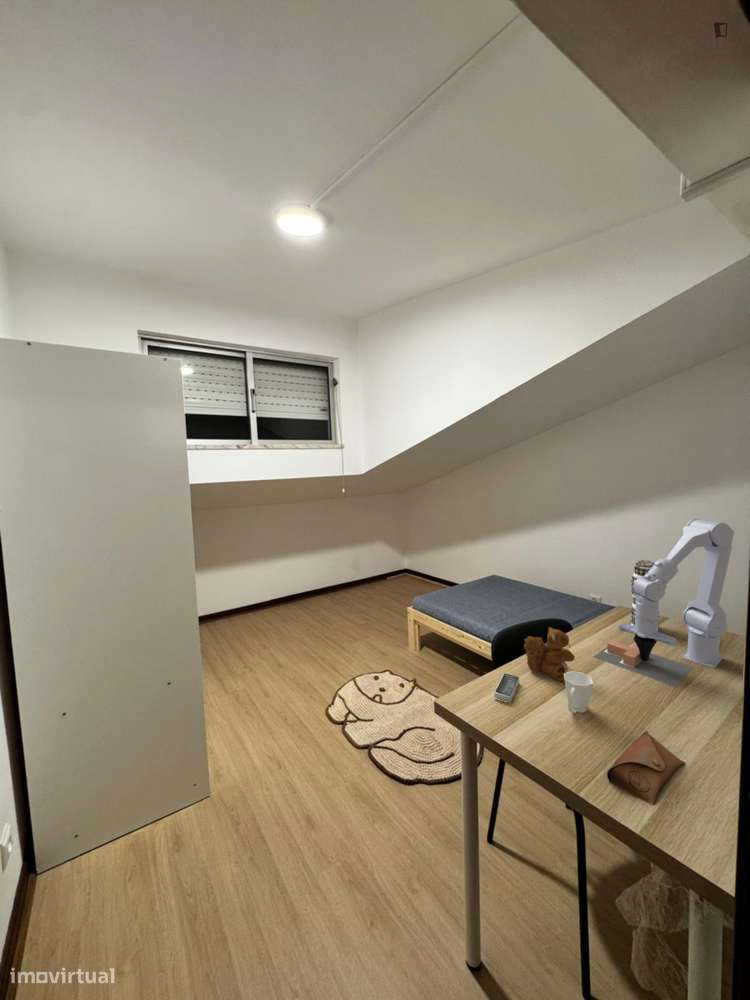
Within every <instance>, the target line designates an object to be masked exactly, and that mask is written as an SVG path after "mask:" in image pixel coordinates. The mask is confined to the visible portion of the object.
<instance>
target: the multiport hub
mask: <svg viewBox="0 0 750 1000" xmlns="http://www.w3.org/2000/svg"><path fill="white" fill-rule="evenodd" d="M519 685H520V676H517V675H513V674H510V673H503V674H502V676H501V678H500V680H499V682H498V684H497V686H496V688H495V690H494V692H493V697H495V698H497V699H500V700H503V701H507V702H511V701H513V699H514V697H515V695H514V694H516V693H517V690H518V688H517V687H519ZM516 689H517V690H516ZM513 696H514V697H513ZM512 698H513V699H512ZM503 701H502V702H503ZM511 703H512V702H511Z"/></svg>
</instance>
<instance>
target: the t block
mask: <svg viewBox="0 0 750 1000" xmlns="http://www.w3.org/2000/svg"><path fill="white" fill-rule="evenodd" d="M606 644H607V646H606V647H607V652H608V653H611V654H614V655H617V656H619V657H622V658H623V663H624V664H627V665H630V666H633V667H635V666H636V665H637V664H638V663H639V662H640V661H642V660H641V655H640V652H639V649H638V646H637V645H636V643H635V644H634V645H632V646H630V647H629V645H627V644H624V645H623V643H620V642H617V641H613V640H610V641H608V643H606ZM626 645H627V646H626Z"/></svg>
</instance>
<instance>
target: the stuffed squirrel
mask: <svg viewBox="0 0 750 1000" xmlns="http://www.w3.org/2000/svg"><path fill="white" fill-rule="evenodd" d="M547 630H548V632H547V635H546V636H547V637H546V638H547V641H546V643H545V642H544V641H543V638H542V637H538V636H536V637H533V636H527V638H524V642H525V643H524V644H523V648H524V650H525V652H526V654H525V656H526V657H527V658H526V660H527V662H526V664H527V666H528V668H529V669H530V670H531V671H533V672H534V673H535V672H536V674H539V673H538V672H540V673H542V674H545V675H546V676H547V677H550V678H552V679H553V680H556V681H558V682H563V683H565V679H564V673H567V663H566V662H573V661H574V660H575V655H574V654H573V652H571V650H569V649H571V646H570V637H569V635H568V634H566V633H565V632H564V631H562V630H560V629H555V628H553V627H550V626H549V627H548V629H547ZM567 646H568V648H569V649H568V648H565V647H567Z"/></svg>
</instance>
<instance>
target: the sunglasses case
mask: <svg viewBox="0 0 750 1000" xmlns="http://www.w3.org/2000/svg"><path fill="white" fill-rule="evenodd" d="M685 764H686V762H685V761H684V760H682V759H679V758H678V756H676V755H675V754H674V753H673V752H671V751H670V750H669V749H668V748H667V747H665V746H664V745H663V744H661V742H660V741H658V740H657V739H656V738H655V737H653V736H652V734H650V733H649V731H648V730H646V731H643V733H642V734H641V735H640V736H638V737H637V738H636V739H635V740H634V741H633V742H632V743H631V744H630V745H629V746H628V747H627V748H626V749H625V750H624V751H623V753H622V754H620V756H618V757H617V758H616V760H615V761H614V763H613V764H612V765H611V767H610V768H609V769H608V771H607V772H606V777H607V780H608V781H609V783H612V784H613V785H615V786H617V788H618V787H619V788H621V790H624V791H625V792H627V793H629V794H630V795H633V796H634V797H636V798H638V799H640V800H642V801H643V802H645V803H647V804H650V806H655V805H656V802H657V800H658V797H659V795H660V794H661V791H662V790H663V788H664V787H665V786H666V784H667V783H668V782H669V781H670V779H671V778H672V777H673V776H674V775H675V774H676V772H677V771H678V770H679V769H680V768H681V767H684V765H685Z"/></svg>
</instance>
